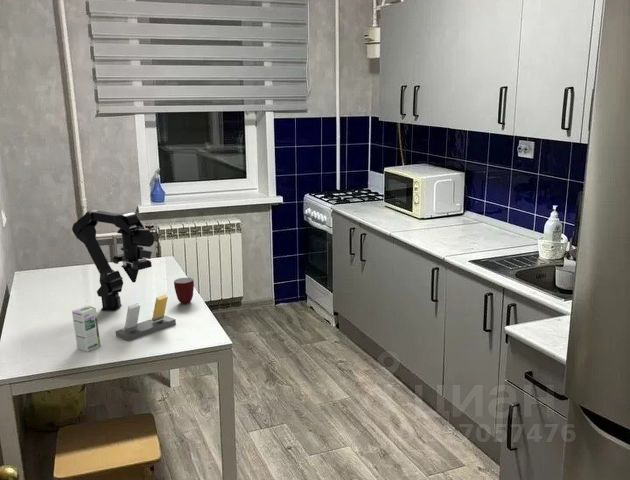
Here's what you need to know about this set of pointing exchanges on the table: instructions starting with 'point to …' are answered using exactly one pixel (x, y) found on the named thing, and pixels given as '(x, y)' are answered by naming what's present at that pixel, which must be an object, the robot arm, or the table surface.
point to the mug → (184, 289)
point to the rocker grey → (132, 317)
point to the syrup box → (86, 328)
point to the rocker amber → (159, 308)
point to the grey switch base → (145, 328)
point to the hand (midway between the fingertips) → (134, 282)
